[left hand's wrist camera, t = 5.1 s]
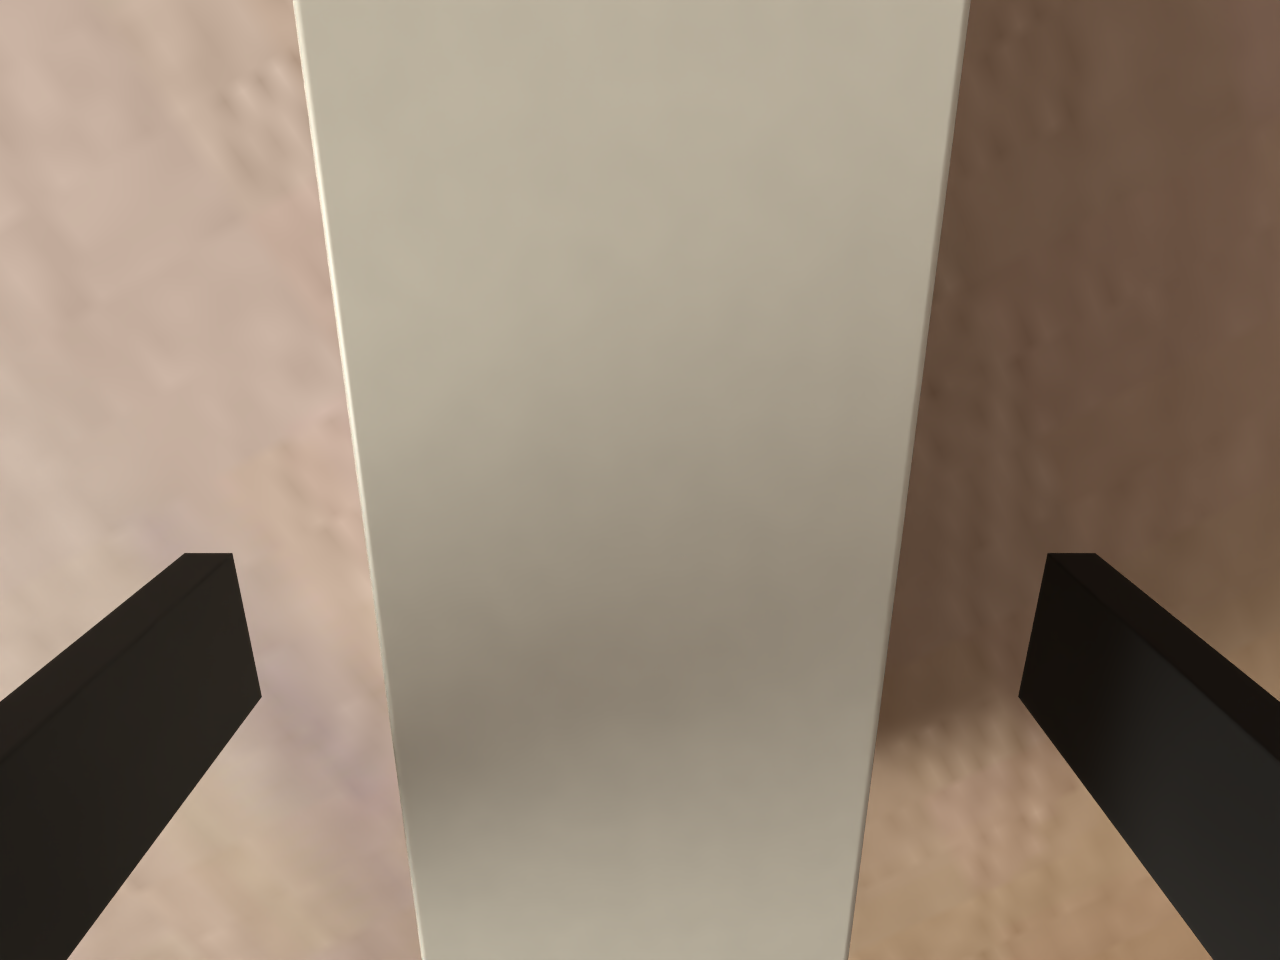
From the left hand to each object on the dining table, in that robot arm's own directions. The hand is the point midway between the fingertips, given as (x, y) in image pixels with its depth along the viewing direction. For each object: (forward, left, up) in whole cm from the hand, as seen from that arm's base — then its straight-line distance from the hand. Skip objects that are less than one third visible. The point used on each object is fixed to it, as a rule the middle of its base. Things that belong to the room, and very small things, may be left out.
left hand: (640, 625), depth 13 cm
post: (+30, 0, -3) cm, 30 cm away
